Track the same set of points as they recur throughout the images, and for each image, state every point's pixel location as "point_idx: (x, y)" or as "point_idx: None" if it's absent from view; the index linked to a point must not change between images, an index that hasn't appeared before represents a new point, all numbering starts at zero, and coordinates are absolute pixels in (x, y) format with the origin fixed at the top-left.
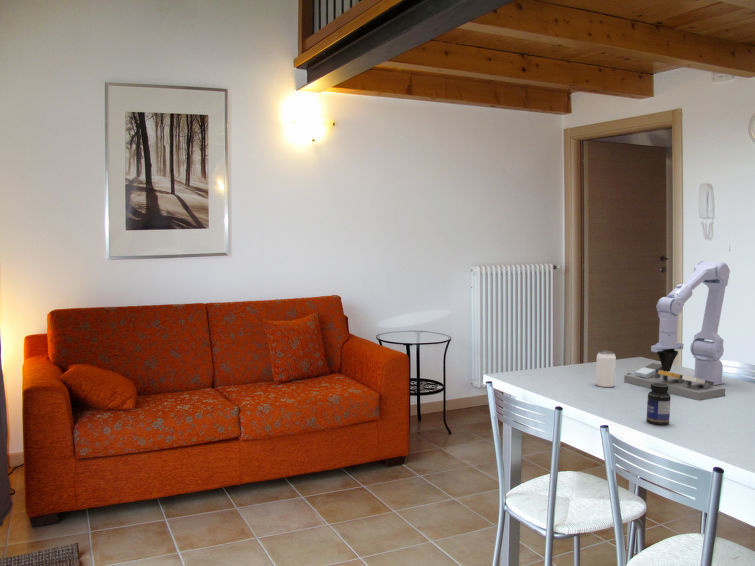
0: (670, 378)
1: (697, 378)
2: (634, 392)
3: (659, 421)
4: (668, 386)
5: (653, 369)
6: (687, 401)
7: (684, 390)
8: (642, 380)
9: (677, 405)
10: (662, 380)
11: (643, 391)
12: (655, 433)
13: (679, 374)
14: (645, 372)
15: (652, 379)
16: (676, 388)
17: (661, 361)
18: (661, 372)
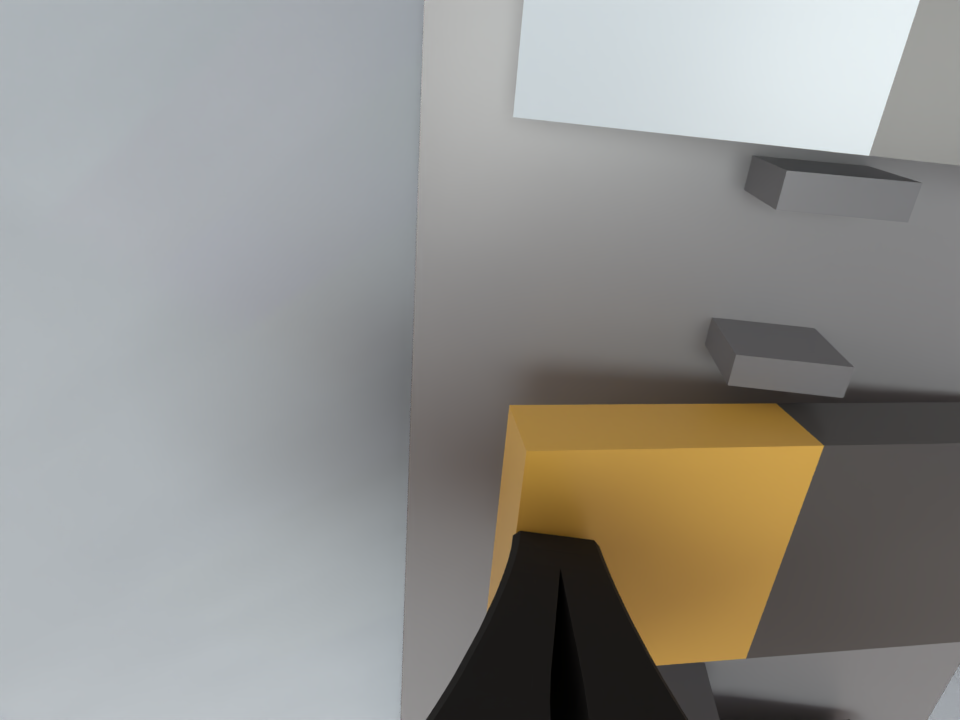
0: (941, 338)
1: None
2: (55, 262)
3: None
4: (407, 543)
5: (878, 90)
6: (292, 711)
7: (403, 701)
8: (422, 96)
9: (106, 715)
10: (653, 347)
11: (206, 294)
12: None
13: (723, 659)
14: (606, 24)
15: (581, 206)
16: (404, 629)
17: (457, 697)
18: (511, 487)
